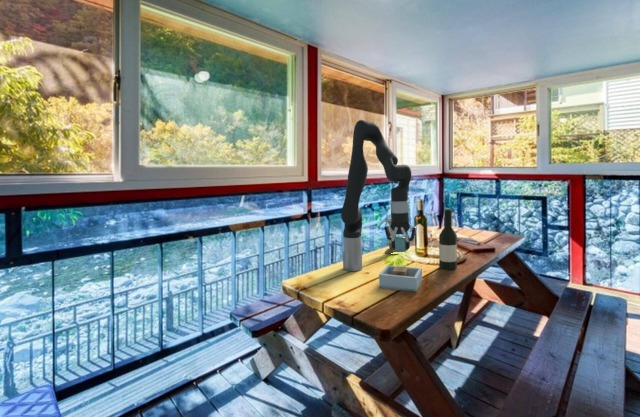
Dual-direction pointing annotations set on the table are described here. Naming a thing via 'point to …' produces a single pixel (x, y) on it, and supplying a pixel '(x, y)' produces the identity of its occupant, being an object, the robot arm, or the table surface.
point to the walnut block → (400, 271)
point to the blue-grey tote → (400, 279)
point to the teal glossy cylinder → (400, 244)
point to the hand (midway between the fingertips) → (400, 249)
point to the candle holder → (389, 240)
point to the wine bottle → (448, 244)
